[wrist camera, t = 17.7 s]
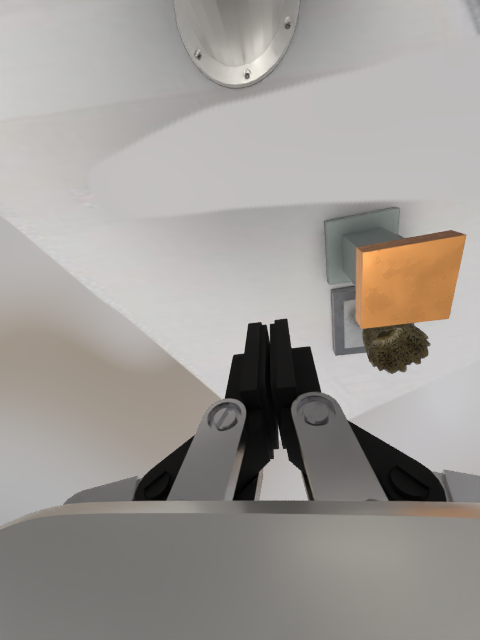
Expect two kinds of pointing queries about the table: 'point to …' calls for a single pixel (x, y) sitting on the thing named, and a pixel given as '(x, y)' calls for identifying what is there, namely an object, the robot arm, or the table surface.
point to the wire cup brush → (395, 346)
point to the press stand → (356, 240)
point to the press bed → (346, 322)
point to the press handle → (407, 279)
